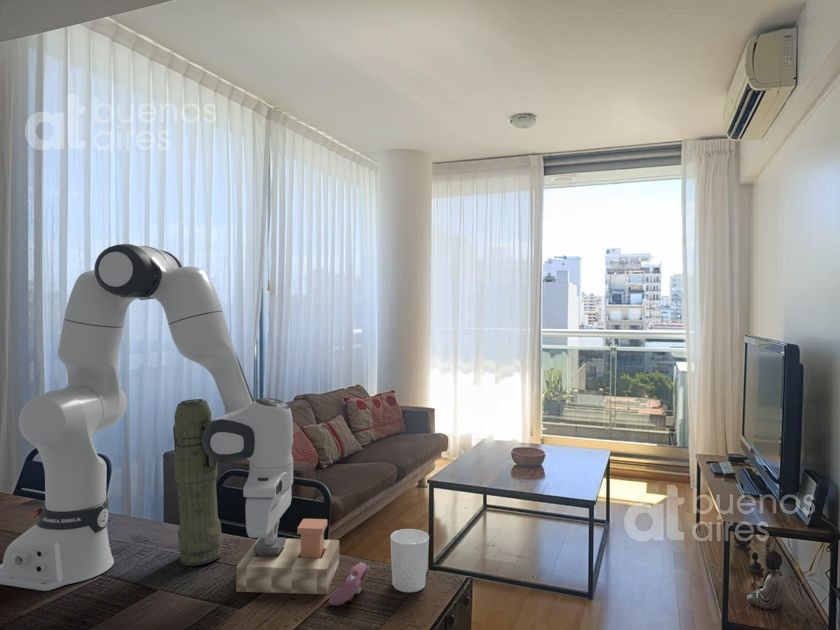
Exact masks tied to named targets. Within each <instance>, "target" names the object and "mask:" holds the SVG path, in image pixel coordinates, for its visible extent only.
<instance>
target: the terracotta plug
mask: <svg viewBox="0 0 840 630" xmlns="http://www.w3.org/2000/svg"><path fill="white" fill-rule="evenodd" d="M327 527H328V519H327V518H325V519H324V518H303V519H302V520H301V522H300V523H299V525H298V526H297V530H296V531H297V532H296V533H297V535H300V539H301V555H300V558H315V559H320V558H321V556H322V554H323V552H324V540H325V531H326V529H327Z"/></svg>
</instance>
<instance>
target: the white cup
mask: <svg viewBox="0 0 840 630" xmlns="http://www.w3.org/2000/svg"><path fill="white" fill-rule="evenodd" d="M429 541H430V535H429V534H428V533H427V532H426V531H424V530H421V529H416V528H403V529H398V530H395V531H393V532H392V533H391V534H390V559H391V560H390V561H391V562H390V563H391V572H392V574H391V575H392V578H391V579H392V586H393V587H394V589H395V590H397V591H399V592H402V593H416V592H419V591H421V590H423V589H424V588H425V587H426V576H427V572H428V560H429V558H428V557H429V544H430V542H429Z"/></svg>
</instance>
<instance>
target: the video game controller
mask: <svg viewBox="0 0 840 630" xmlns="http://www.w3.org/2000/svg"><path fill="white" fill-rule="evenodd" d="M370 568H371V566H370V565H368V564H367V563H364V562H363V563H362V561H360V562H359V563H357V564H356V565H354V566H352V567H351V568H350V569H349V571H347V572H345V574H344V575H343V579H342V582H343V584H342V585H341V586H340V587H338V589H336V590H335V591H333V592H332V593H331V594H330V596H329V599H328V602H329V604H330V605H331V606H334V605H335V606H341V605H343V604H344V603H346V602H348V601H350V602H351V601H352V600H353V597H354V596H355V594H357V595H358V594H360V592H361V591H362V585H361V584H362V582H364V579H366V577H367V575H368V573H369V570H370Z"/></svg>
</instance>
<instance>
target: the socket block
mask: <svg viewBox="0 0 840 630" xmlns="http://www.w3.org/2000/svg"><path fill="white" fill-rule="evenodd" d="M259 539H260V538H257V540H256V541H255V542H254V543H253V545H252V546H251V547H250V548H249V550H248V551H247V553H245V555H244V556H243V558H242V559H241V560H240V561H239V563H238V564H237V565H236V575H235V576H236V582H235V583H236V586H235V591H236V592H239V593H241V592H242V593H248V592H249V593H269V594H271V593H272V594H273V593H274V594H302V595H303V594H304V595H306V594H307V595H327V594H328V592H329V589H330V587H331V585H332V581H333V580H334V577H335V574H336V571H337V569H338V566H339V563H340V539H324V552H323V554H322V556H321V558H320V559H315V558H300V555H301V538H285V544H284V546H283V548H282V552H281V554H280V555H279V557H257V553H253V551H254V546H255V545H256V543H257V542H258V541H259Z"/></svg>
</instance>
